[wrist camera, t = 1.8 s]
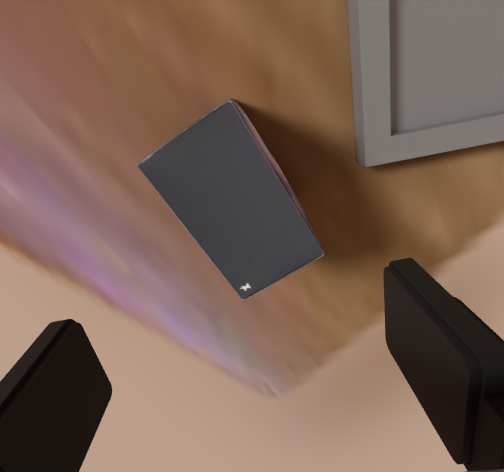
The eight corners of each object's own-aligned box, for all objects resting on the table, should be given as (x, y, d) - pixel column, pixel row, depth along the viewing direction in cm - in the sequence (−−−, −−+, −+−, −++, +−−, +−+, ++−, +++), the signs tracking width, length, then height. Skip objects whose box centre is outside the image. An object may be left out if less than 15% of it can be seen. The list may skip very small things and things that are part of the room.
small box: (302, 202, 29) (332, 257, 19) (241, 238, 30) (241, 307, 21) (236, 93, 25) (233, 94, 16) (169, 140, 26) (129, 168, 17)
